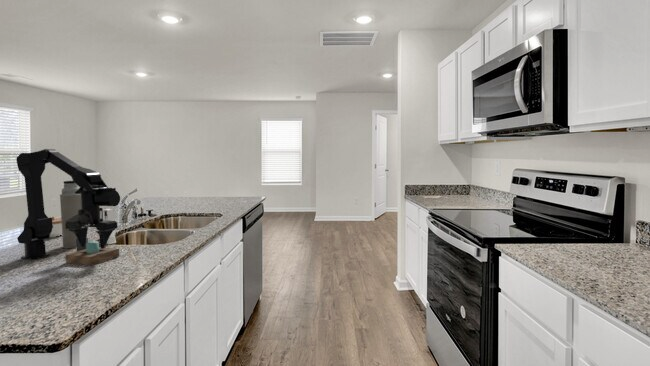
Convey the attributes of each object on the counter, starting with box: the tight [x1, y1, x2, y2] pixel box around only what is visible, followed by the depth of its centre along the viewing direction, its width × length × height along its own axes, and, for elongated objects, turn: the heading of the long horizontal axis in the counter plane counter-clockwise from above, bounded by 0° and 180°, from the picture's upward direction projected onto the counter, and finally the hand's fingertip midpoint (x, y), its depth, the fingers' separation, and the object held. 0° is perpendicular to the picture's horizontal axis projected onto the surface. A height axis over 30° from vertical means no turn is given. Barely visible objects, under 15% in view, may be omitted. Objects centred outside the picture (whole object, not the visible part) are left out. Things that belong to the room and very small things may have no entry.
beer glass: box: [100, 207, 117, 245], centre depth 168 cm, size 7×7×15 cm
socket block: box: [65, 246, 120, 266], centre depth 141 cm, size 12×12×3 cm
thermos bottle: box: [59, 180, 82, 249], centre depth 162 cm, size 8×8×28 cm
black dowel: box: [75, 237, 89, 252], centre depth 150 cm, size 4×4×6 cm
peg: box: [86, 240, 100, 254], centre depth 141 cm, size 4×4×6 cm
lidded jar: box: [49, 216, 62, 238], centre depth 183 cm, size 11×11×9 cm
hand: (92, 247), depth 141 cm, fingers open, 9 cm apart
